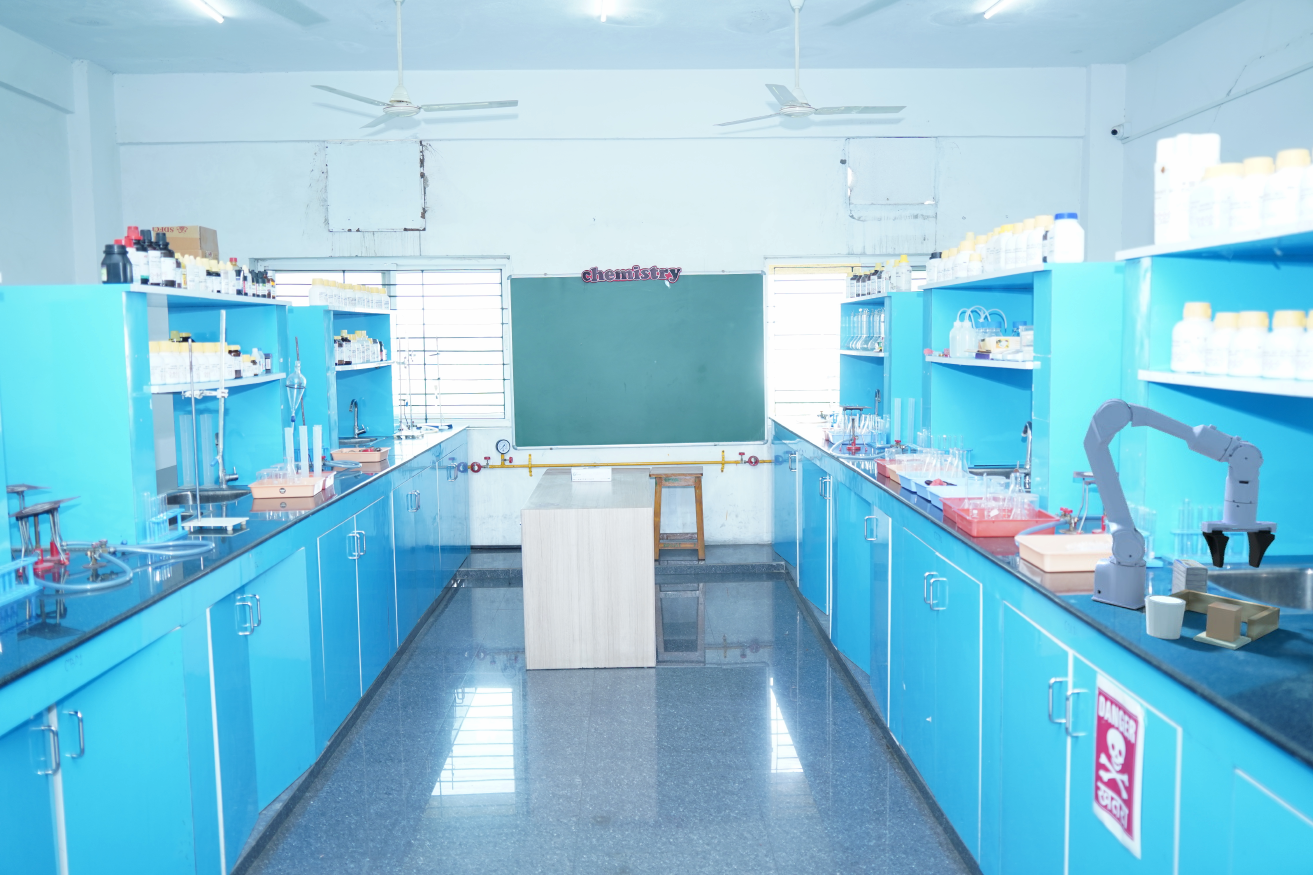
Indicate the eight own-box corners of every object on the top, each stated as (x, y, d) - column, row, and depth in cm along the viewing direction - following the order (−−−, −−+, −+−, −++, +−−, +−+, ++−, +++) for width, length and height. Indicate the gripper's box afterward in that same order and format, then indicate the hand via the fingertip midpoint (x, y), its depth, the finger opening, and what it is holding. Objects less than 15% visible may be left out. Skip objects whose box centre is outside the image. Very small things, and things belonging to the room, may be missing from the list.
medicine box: (1206, 607, 194) (1209, 567, 193) (1183, 606, 195) (1186, 566, 194) (1192, 597, 202) (1195, 559, 201) (1170, 596, 203) (1173, 558, 202)
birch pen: (1156, 618, 186) (1157, 599, 186) (1184, 607, 194) (1185, 588, 194) (1253, 640, 172) (1254, 620, 172) (1278, 627, 181) (1280, 608, 180)
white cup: (1191, 639, 173) (1194, 603, 172) (1156, 640, 172) (1159, 604, 172) (1169, 628, 180) (1171, 593, 179) (1135, 629, 179) (1137, 594, 178)
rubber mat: (1193, 639, 173) (1193, 636, 173) (1210, 631, 178) (1210, 628, 178) (1234, 649, 167) (1234, 646, 167) (1251, 641, 172) (1251, 637, 172)
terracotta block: (1205, 636, 173) (1207, 605, 172) (1213, 631, 176) (1215, 601, 175) (1232, 642, 170) (1235, 610, 169) (1240, 637, 173) (1242, 606, 172)
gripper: (1261, 497, 190) (1256, 561, 191) (1193, 497, 189) (1189, 561, 191) (1286, 503, 183) (1281, 570, 184) (1215, 503, 182) (1211, 570, 184)
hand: (1235, 566), depth 187 cm, fingers open, 7 cm apart
